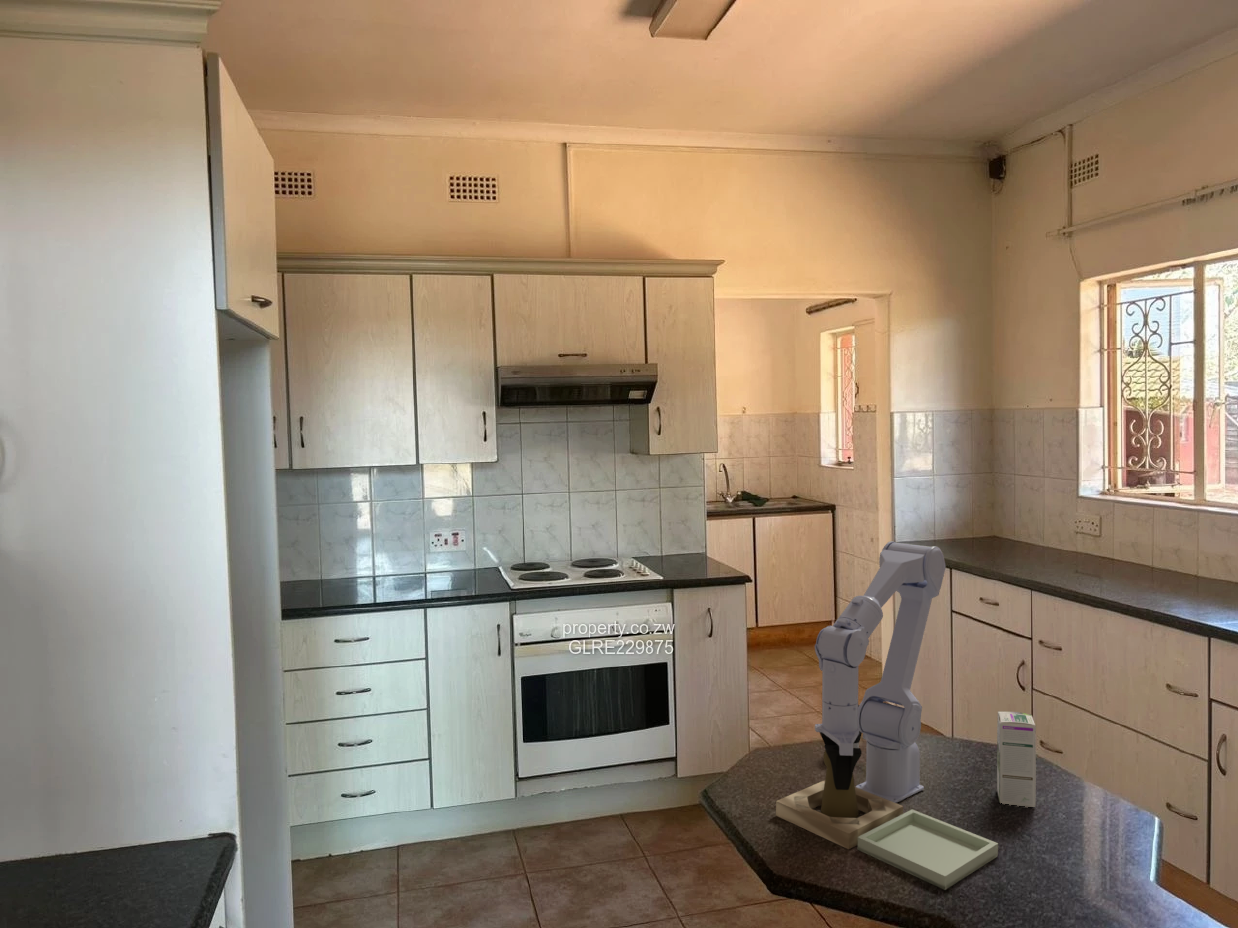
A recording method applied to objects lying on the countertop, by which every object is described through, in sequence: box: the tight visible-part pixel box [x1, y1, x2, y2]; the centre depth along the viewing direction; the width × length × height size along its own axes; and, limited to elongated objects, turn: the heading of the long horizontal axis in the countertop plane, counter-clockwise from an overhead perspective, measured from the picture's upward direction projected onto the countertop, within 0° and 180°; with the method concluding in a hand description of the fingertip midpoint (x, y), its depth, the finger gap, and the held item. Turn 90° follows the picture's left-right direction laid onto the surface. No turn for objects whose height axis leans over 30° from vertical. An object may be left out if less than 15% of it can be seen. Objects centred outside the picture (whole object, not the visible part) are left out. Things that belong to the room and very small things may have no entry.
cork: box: [820, 749, 859, 818], centre depth 144 cm, size 6×6×11 cm
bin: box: [857, 808, 999, 891], centre depth 133 cm, size 15×15×2 cm
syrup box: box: [996, 711, 1037, 808], centre depth 150 cm, size 6×6×14 cm
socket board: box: [775, 779, 904, 850], centre depth 144 cm, size 14×14×2 cm
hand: (839, 781), depth 144 cm, fingers closed on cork, 5 cm apart
